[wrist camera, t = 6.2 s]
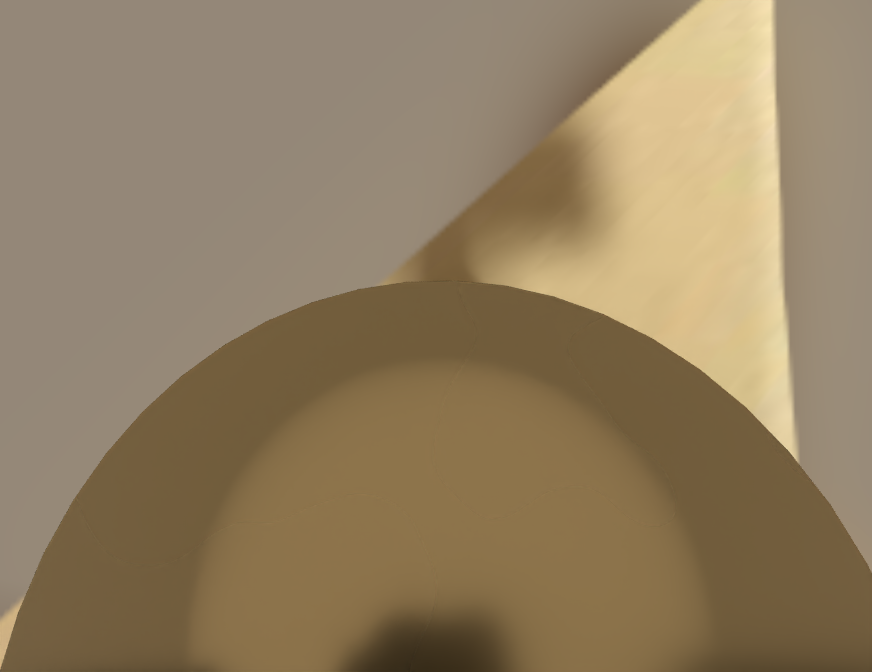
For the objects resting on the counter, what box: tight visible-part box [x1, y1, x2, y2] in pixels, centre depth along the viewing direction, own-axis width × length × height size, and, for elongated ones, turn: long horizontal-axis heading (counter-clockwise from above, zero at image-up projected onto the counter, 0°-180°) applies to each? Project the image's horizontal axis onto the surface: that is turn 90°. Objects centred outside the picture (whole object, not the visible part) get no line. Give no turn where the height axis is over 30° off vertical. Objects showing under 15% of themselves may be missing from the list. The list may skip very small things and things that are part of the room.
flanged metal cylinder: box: [0, 281, 872, 672], centre depth 8 cm, size 5×5×13 cm
